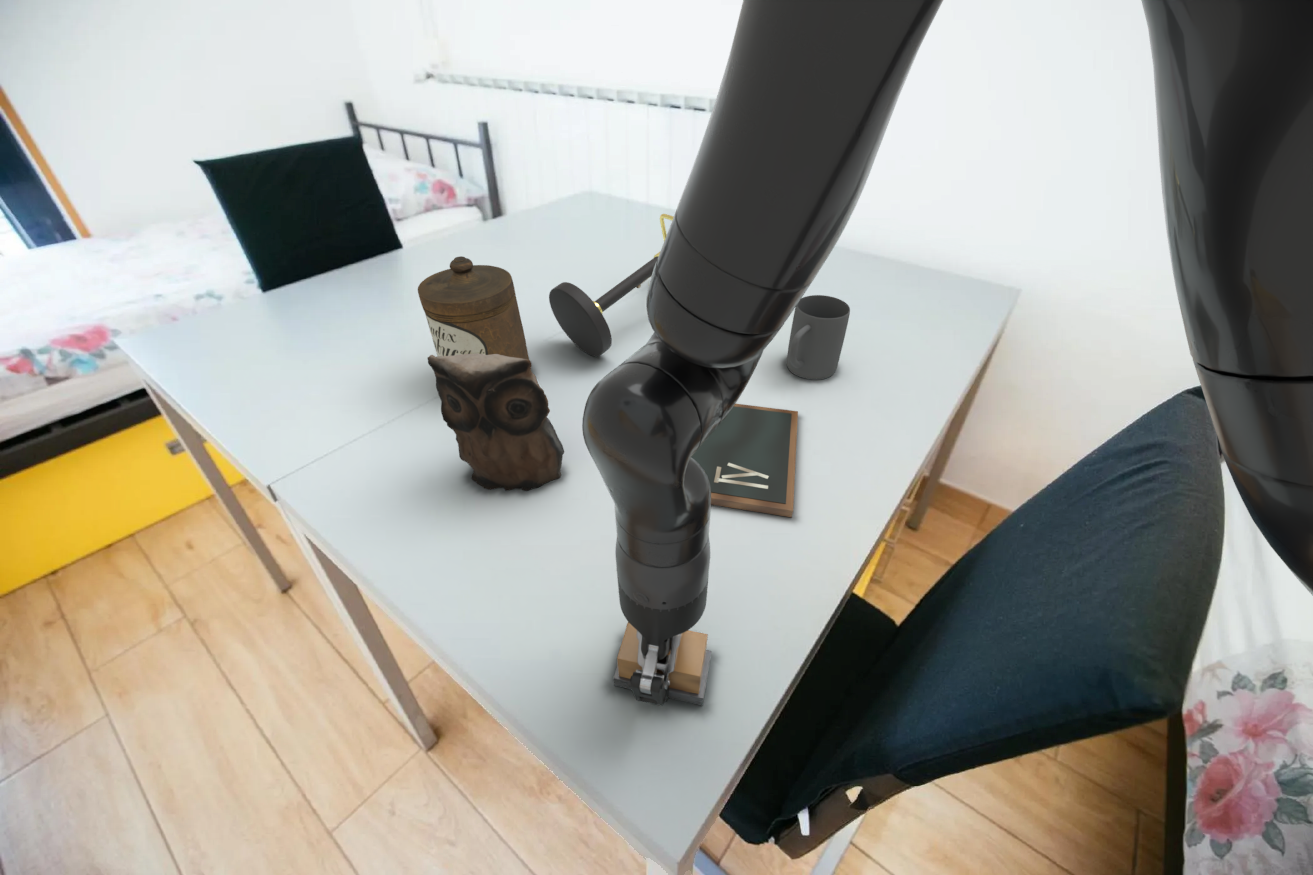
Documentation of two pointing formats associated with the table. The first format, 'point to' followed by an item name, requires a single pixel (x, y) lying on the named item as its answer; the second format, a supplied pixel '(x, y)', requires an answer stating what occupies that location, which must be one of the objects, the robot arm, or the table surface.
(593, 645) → the table surface
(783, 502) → the board
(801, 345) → the mug
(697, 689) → the eraser
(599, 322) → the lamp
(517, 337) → the wooden container
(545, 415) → the owl
